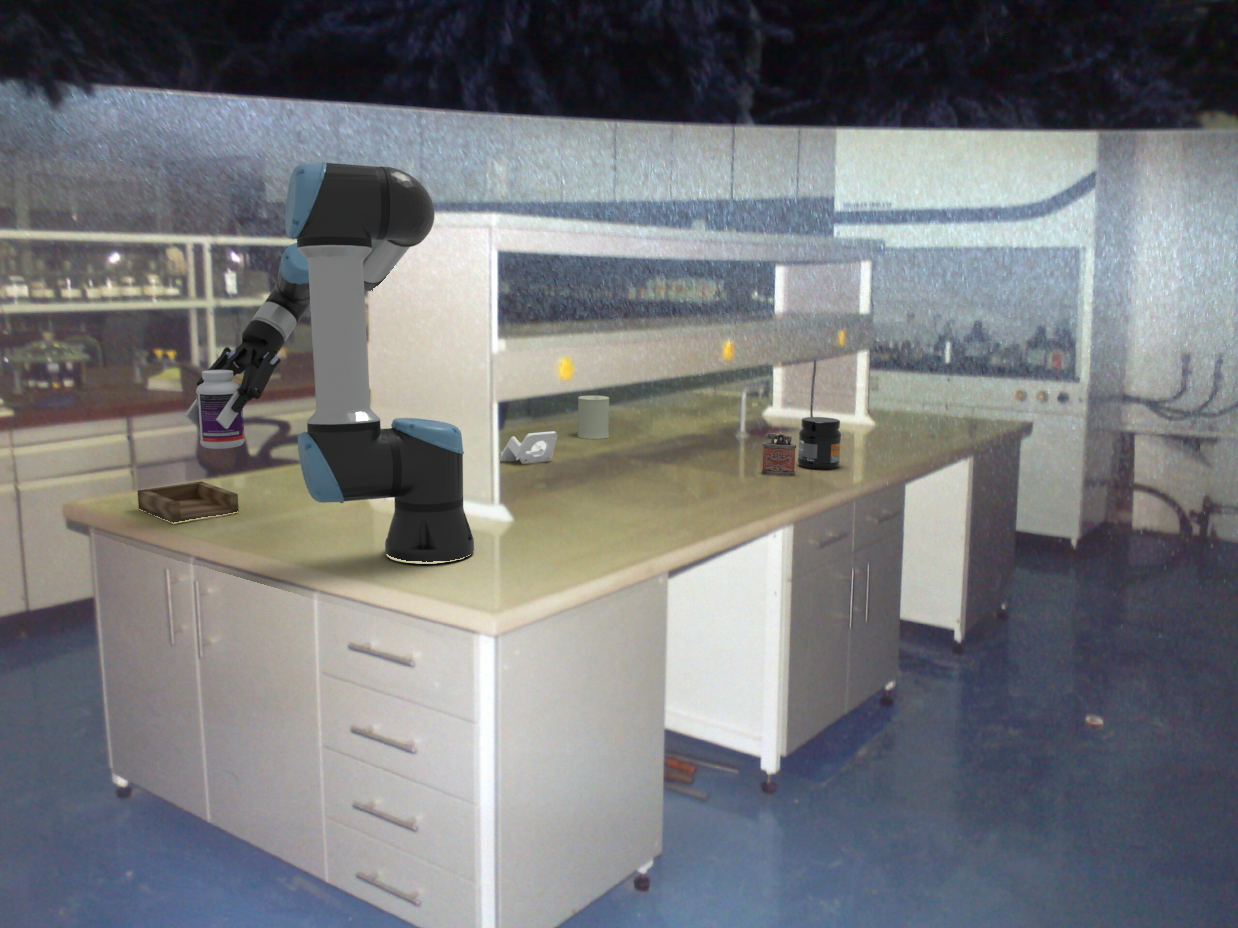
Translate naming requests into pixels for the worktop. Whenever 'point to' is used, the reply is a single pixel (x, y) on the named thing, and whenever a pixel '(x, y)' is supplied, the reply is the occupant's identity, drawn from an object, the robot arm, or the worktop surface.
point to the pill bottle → (218, 411)
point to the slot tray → (187, 501)
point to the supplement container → (819, 443)
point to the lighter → (779, 455)
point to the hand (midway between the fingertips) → (206, 422)
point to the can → (593, 417)
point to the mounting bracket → (531, 448)
